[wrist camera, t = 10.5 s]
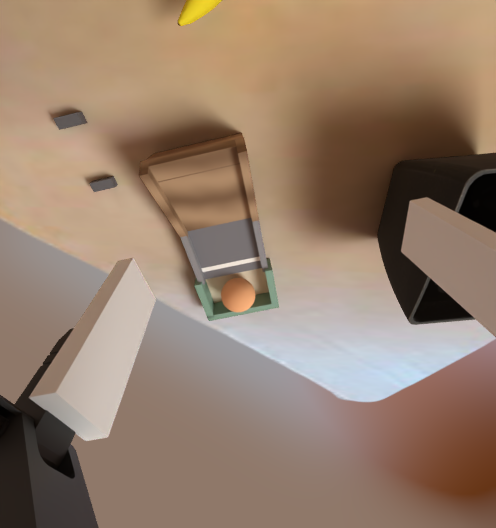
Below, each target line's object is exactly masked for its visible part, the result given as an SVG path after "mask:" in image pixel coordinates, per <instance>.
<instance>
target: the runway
mask: <svg viewBox="0 0 496 528" xmlns="http://www.w3.org/2000/svg"><path fill="white" fill-rule="evenodd" d="M180 238H181V241H182V243H183V246H184V248H185V251H186V253H187V256H188V258H189V261H190V263H191V266H192V268H193V271H194V273H195V276H196V278H197V281H198V282H202V284H205V280H206V279H210V278H215V277H220V276H225V275H230V274H235V273H240V272H244V271H249V270H254V269H259V268H262V271H263V272H265V269H267V268H268V265H267V260H266V254H265V249H264V244H263V239H262V234H261V228H260V223H259V220H258V221H254V222H252V218H247V219H243V220H238V221H233V222H229V223H224V224H220V225H215V226H210V227H206V228H201V229H196V230H192V231H188V237H187V236H184V237H180Z"/></svg>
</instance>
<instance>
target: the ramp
mask: <svg viewBox="0 0 496 528" xmlns="http://www.w3.org/2000/svg"><path fill="white" fill-rule="evenodd" d="M139 177H140V178H141V179H142V181H143V182H144V184H145V185H146V187H147V188H148V190H149V191H150V193H151V194H152V196H153V197H154V199H155V200H156V202H157V203H158V205H159V206H160V208H161V209H162V211H163V212H164V214H165V215H166V217H167V218H168V220H169V221H170V223H171V224H172V226H173V227H174V229H175V230H176V232H177V233H178V235H179V236H180V237H184V236H187V237H188V231H192V230H196V229H201V228H206V227H210V226H215V225H220V224H224V223H229V222H233V221H238V220H243V219H247V218H252V222H254V221H258V220H259V218H258V212H257V206H256V200H255V195H254V189H253V183H252V177H251V172H250V166H249V160H248V154H247V149H246V145H245V140H244V137H243V135H242V133H239V134H235V135H231V136H227V137H222V138H218V139H214V140H209V141H205V142H201V143H197V144H192V145H188V146H184V147H180V148H175V149H171V150H167V151H163V152H158V153H154V154H153V155H151V156H150V157H149V158H148V159H146V160H144V161H140V172H139Z"/></svg>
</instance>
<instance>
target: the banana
mask: <svg viewBox="0 0 496 528" xmlns="http://www.w3.org/2000/svg"><path fill="white" fill-rule="evenodd" d="M221 1H222V0H186V3H185V5H184V7H183V9H182V11H181V14H180V17H179V19H178V25H179V26H183V25H186V24H191V23H193V22H194V21H196V20H198V19H199V18H201V17H202V16H204V15H205V14H207V13H208V12H210V11H211V10H212V9H214V8H215V7H216V6H217V5H218V4H219V3H220V2H221Z"/></svg>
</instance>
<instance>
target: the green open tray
mask: <svg viewBox="0 0 496 528" xmlns="http://www.w3.org/2000/svg"><path fill="white" fill-rule="evenodd" d="M266 260H267V265H268V268H267V269H265V272H263V271H262V268H259V269H254V270H249V271H244V272H240V273H235V274H230V275H225V276H220V277H215V278H210V279H206V280H205V284H202V282H198V281H197V278H196V279H195V285H194V286H195V289H196V291H197V293H198V296H199V298H200V301H201V303H202V305H203V308H204V310H205V313H206V315H207V317H208V320H209V321H212V320H217V319H222V318H227V317H232V316H237V315H243V314H248V313H253V312H258V311H263V310H268V309H273V308H279V304H278V299H277V293H276V288H275V282H274V276H273V271H272V267H271V263H270V259H266ZM233 278H243V279H246V280H247V281H249V282H250V283H251V284H252V285H253V287H254V290H255V300H254V303H253V305H252V306H251V307H250V308H249V309H248V310H246V311H244V312H233V311H230V310H229V309H227V308H226V307H225V306H224V304H223V302H222V299H221V291H222V288H223V286H224V285H225V284H226V282H228V281H229V280H231V279H233Z"/></svg>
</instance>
